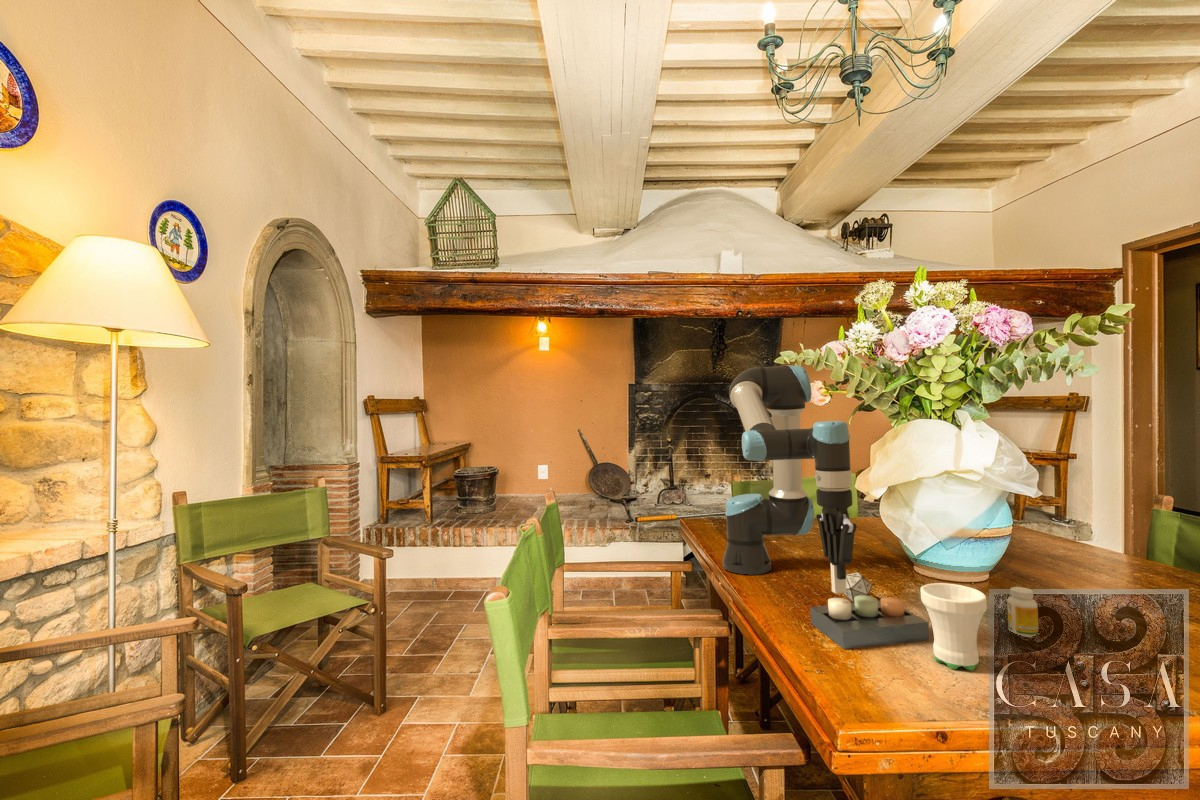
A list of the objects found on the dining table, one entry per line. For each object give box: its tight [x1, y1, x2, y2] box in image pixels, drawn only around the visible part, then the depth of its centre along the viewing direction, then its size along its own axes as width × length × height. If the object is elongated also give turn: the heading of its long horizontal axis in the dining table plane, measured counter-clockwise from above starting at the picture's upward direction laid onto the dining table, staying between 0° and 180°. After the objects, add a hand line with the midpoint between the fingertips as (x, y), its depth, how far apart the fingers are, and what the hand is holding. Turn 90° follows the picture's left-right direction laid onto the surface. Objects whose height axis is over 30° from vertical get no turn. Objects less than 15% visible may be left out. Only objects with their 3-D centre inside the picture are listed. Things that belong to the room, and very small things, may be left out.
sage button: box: [854, 595, 879, 617], centre depth 125 cm, size 5×5×3 cm
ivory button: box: [827, 597, 852, 620], centre depth 124 cm, size 5×5×3 cm
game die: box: [842, 569, 876, 603], centre depth 143 cm, size 9×8×10 cm
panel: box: [809, 599, 930, 650], centre depth 125 cm, size 14×20×4 cm
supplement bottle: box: [1006, 586, 1040, 638], centre depth 121 cm, size 5×5×10 cm
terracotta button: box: [880, 596, 906, 617], centre depth 126 cm, size 5×5×3 cm
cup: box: [920, 582, 988, 672], centre depth 109 cm, size 11×11×14 cm
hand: (839, 591), depth 124 cm, fingers closed
